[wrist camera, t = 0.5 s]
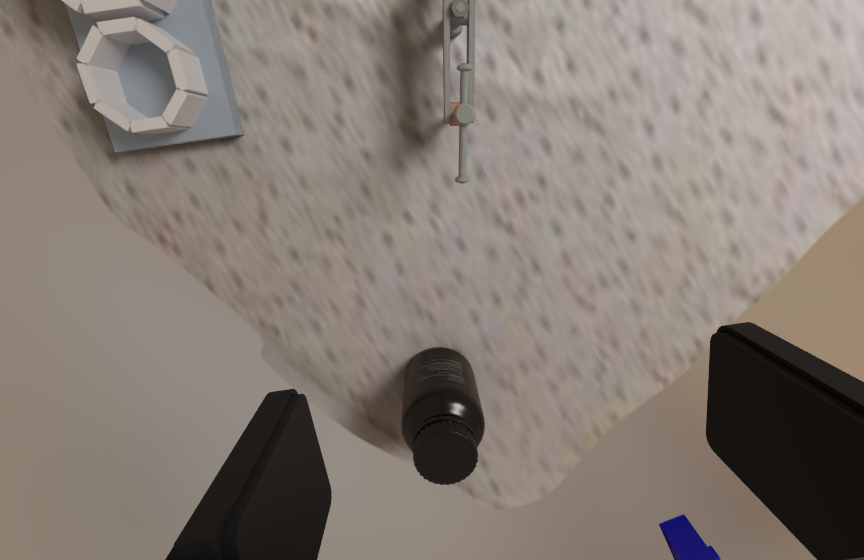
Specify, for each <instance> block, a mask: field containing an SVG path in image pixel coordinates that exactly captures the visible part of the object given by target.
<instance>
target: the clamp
mask: <svg viewBox="0 0 864 560" xmlns="http://www.w3.org/2000/svg"><path fill="white" fill-rule="evenodd" d="M462 25H467V63H463V64H462V65H458V66H457V70H458V71H461V76H460V102H450V36H458V35H459V34H460V33H461V31H462ZM474 66H475V0H443V73H444V124H450V126H460V129H459V177H456V178H455V181H456V182H458V183H466V182H469V180H470V179H469V177H466V167H467V128H468V124H470V123H473V122H474V117H475V111H474Z"/></svg>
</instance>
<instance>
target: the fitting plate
mask: <svg viewBox="0 0 864 560" xmlns="http://www.w3.org/2000/svg"><path fill="white" fill-rule="evenodd" d="M61 1H63V2H64V3H65V6H66V9H67V12H68V15H69V18H70V21H71V24H72V27H73V30H74V33H75V36H76V39H77V42H78V45H79V48H80V52H79V54H78V56H77V58H76V59H78V60H79V61H81V62H82V63H79V64H77V67H78V70H79V73H80V76H81V79H82V82H83V85H84V88H85V91H86V94H87V96H88V99H89V102H90V104H95V106H94V109H95V110H97V111H98V112H100V113H101V114H102V115H103V118H104V121H105V124H106V127H107V130H108V133H109V136H110V139H111V142H112V145H113V148H114V151H115V152H130V151H137V150H144V149H151V148H158V147H165V146H172V145H179V144H186V143H193V142H199V141H206V140H213V139H220V138H227V137H234V136H241V135H244V133H243V129H242V125H241V121H240V117H239V113H238V109H237V105H236V101H235V97H234V93H233V89H232V85H231V81H230V77H229V73H228V69H227V65H226V61H225V57H224V53H223V49H222V45H221V41H220V37H219V33H218V29H217V25H216V21H215V17H214V13H213V9H212V5H211V1H210V0H61Z"/></svg>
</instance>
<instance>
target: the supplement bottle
mask: <svg viewBox="0 0 864 560" xmlns="http://www.w3.org/2000/svg"><path fill="white" fill-rule="evenodd" d="M484 429H485V422H484V416H483V411H482V407H481V402H480V398H479V394H478V390H477V385H476V381H475V377H474V373H473V370H472V367H471V365H470V363H469V362H468V360H467V359H466V358H465V357H464V356H463V355H461V354H460V353H459V352H457V351H455V350H452V349H449V348H442V347H438V348H431V349H428V350H425V351H423V352H421V353H420V354H418V355H417V356H416V357H415V358H414V359H413V360H412V361H411V363H410V364H409V366H408V368H407V371H406V375H405V384H404V398H403V412H402V434H403V438H404V440H405V442H406V444H407V446H408V447H409V449H410V450H411V451H412V452H413V460H414V465H415V467H416V469H417V471H418V472H419V473H420V475H421V476H423V477H424V479H427V480H428V481H430V482H433V483H435V484H441V485H443V484H446V485H448V484H454V483H456V482H460V481H461V480H464V479H465V478H466V477H468V476H469V475H470V473H472V472H473V470H474V468H475V467H476V463H477V462H478V451H477V447H478V446H479V444H480V442H481V440H482V438H483V435H484Z"/></svg>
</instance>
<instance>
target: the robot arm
mask: <svg viewBox="0 0 864 560" xmlns="http://www.w3.org/2000/svg"><path fill="white" fill-rule="evenodd" d="M706 437H707V441H708V443H709V445H710V447H711V449H712V450H713V451H714V452H715V453H716V454H717V456H718V457H720V458H721V460H722V461H723V462H724V463H725V464H726V465H727V466H728V467H729V468H730V469H731V470H732V471H733V472H734V473H735V474H736V475H737V476H738V477H739V478H740V479H741V481H742V482H743V483H744V484H745V485H746V486H747V487H748V488H749V489H750V490H751V491H752V492H753V493H754V494H755V495H756V496H757V497H758V498H759V499H760V500H761V501H762V502H763V503H764V505H766V507H767V508H768V509H769V510H770V511H771V512H772V513H773V514H774V515H775V516H776V517H777V518H778V519H779V520H780V521H781V522H782V523H783V524H784V525H785V526H786V527H787V528H788V530H789V531H790V532H791V533H792V534H793V535H794V536H795V537H796V538H797V539H798V540H799V541H800V542H801V543H802V544H803V545H804V546H805V547H806V548H807V549H808V550H809V551H810V552H811V554H812V555H813V556H814V557H816V559H817V560H864V382H862V381H860V380H858V379H857V378H855V377H853V376H851V375H849V374H847V373H845V372H843V371H841V370H840V369H838V368H836V367H834V366H832V365H830V364H828V363H827V362H824V361H823V360H821V359H819V358H817V357H815V356H813V355H811V354H810V353H808V352H806V351H804V350H802V349H800V348H798V347H796V346H794V345H793V344H791V343H789V342H787V341H785V340H783V339H781V338H780V337H778V336H776V335H774V334H772V333H770V332H768V331H766V330H764V329H762V328H761V327H759V326H757V325H755V324H753V323H750V322H747V323H739V324H732V325H725V326H721V327H720V328H719V329H718V330H717V333H715V334H713V335H712V337H711V340H710V359H709V380H708V401H707V423H706ZM330 505H331V487H330V483H329V479H328V476H327V472H326V468H325V465H324V461H323V457H322V454H321V450H320V446H319V442H318V439H317V435H316V432H315V428H314V424H313V420H312V417H311V414H310V410H309V406H308V402H307V399H306V396H305V395H304V394H298V393H297V391H296V390H295V389H289V390H282V391H275V392H269V393H268V394H267V395H266V397H265V398H264V400H263V402H262V403H261V405H260V406H259V408H258V410H257V411H256V413H255V414H254V416H253V418H252V419H251V421H250V423H249V424H248V426H247V427H246V429H245V431H244V432H243V434H242V436H241V437H240V439H239V440H238V442H237V444H236V445H235V447H234V448H233V450H232V452H231V453H230V455H229V457H228V458H227V460H226V461H225V463H224V465H223V466H222V468H221V469H220V471H219V472H218V474H217V476H216V477H215V479H214V480H213V482H212V484H211V485H210V487H209V489H208V490H207V492H206V494H205V495H204V497H203V498H202V500H201V502H200V503H199V505H198V506H197V508H196V509H195V511H194V513H193V514H192V516H191V518H190V519H189V521H188V522H187V524H186V526H185V527H184V529H183V531H182V532H181V534H180V535H179V537H178V539H177V540H176V542H175V543H174V547H173V548H172V550H171V551H170V553H169V555H168V556H167V558H166V559H165V560H317V557H318V553H319V549H320V545H321V541H322V537H323V533H324V529H325V525H326V521H327V517H328V513H329V509H330Z"/></svg>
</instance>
